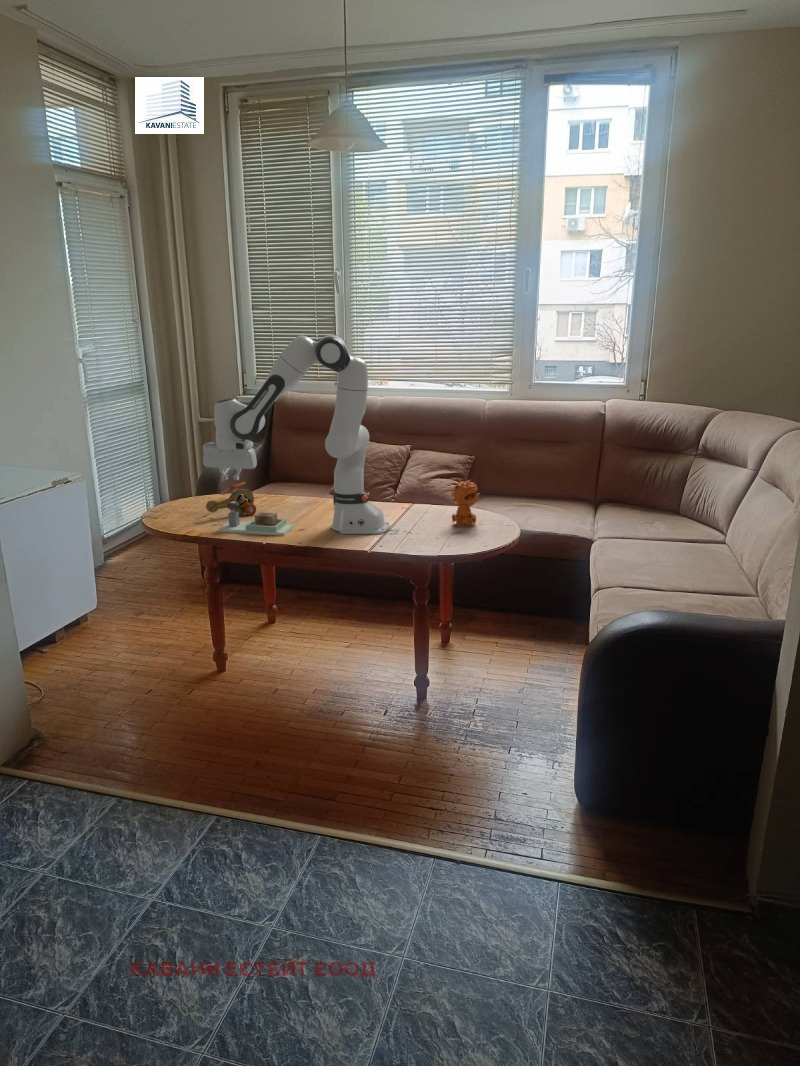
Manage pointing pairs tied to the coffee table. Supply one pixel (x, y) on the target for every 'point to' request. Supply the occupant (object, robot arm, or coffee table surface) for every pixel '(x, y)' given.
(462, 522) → the toy dinosaur
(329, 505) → the coffee table surface
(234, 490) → the toy helicopter
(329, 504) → the coffee table surface
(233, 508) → the wheel knob
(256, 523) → the brown rectangular block
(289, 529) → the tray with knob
